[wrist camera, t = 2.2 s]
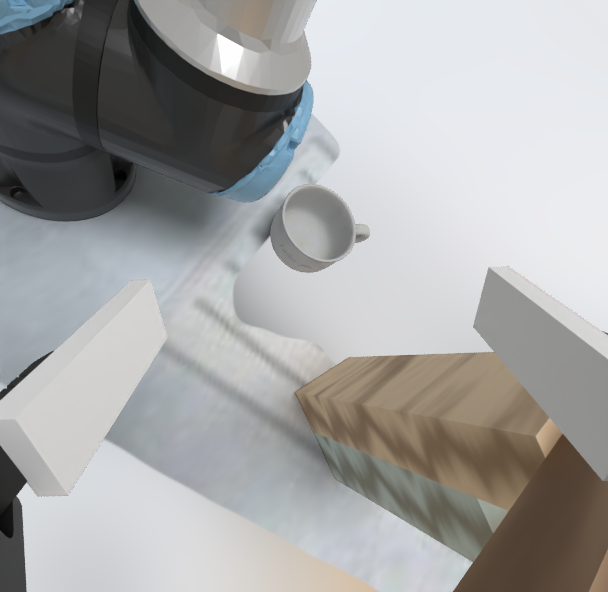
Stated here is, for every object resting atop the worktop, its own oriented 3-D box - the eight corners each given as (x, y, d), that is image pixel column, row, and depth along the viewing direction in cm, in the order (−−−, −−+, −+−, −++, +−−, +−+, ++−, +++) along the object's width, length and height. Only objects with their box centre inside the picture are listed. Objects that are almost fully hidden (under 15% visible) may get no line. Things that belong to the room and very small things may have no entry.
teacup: (257, 268, 44) (278, 249, 37) (267, 198, 47) (289, 169, 40) (342, 289, 49) (374, 276, 42) (346, 226, 52) (378, 204, 45)
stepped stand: (294, 392, 43) (535, 436, 16) (348, 357, 47) (602, 348, 21) (335, 478, 43) (638, 661, 16) (384, 435, 48) (681, 523, 21)
